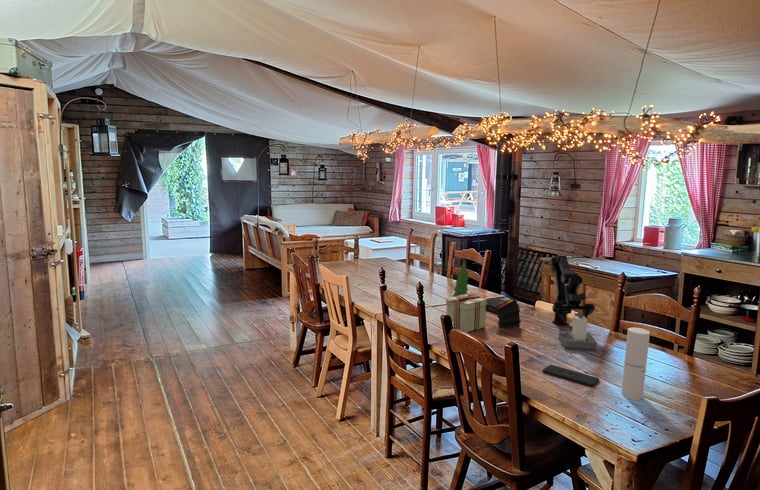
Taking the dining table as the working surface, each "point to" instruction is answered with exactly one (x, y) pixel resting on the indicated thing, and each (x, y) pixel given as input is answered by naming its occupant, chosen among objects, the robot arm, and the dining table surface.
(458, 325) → the gift box
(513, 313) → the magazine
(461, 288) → the decorative tree
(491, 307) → the portable cd player
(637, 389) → the cylindrical container
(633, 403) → the dining table surface
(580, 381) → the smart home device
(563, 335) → the block
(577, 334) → the white upright cylinder
